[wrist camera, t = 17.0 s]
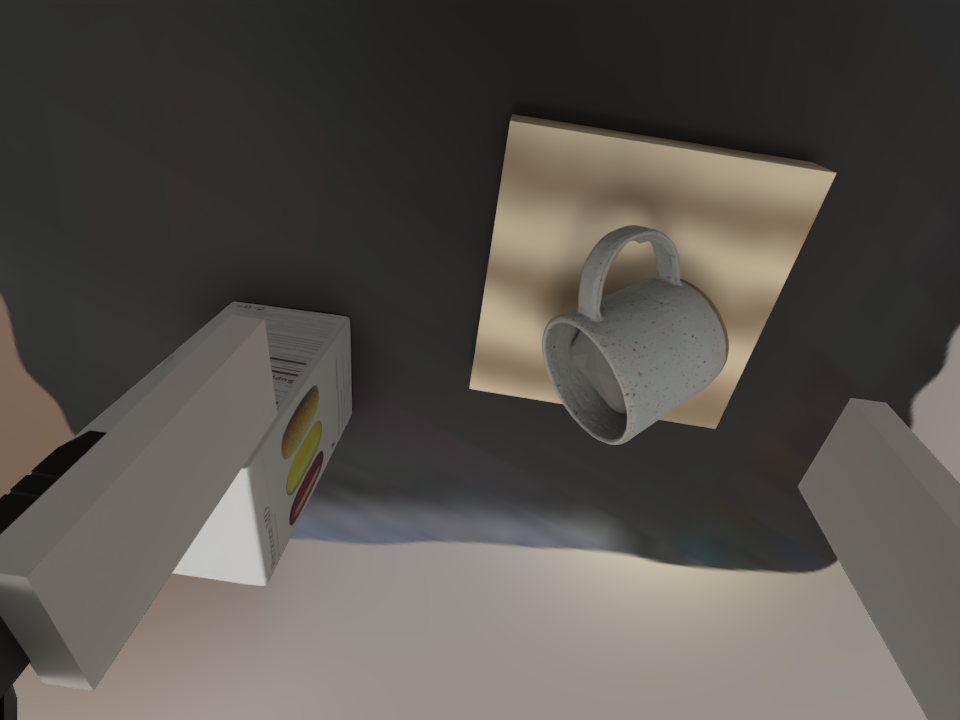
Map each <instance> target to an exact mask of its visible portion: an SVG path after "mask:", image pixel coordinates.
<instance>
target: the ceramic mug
mask: <svg viewBox="0 0 960 720" xmlns="http://www.w3.org/2000/svg"><path fill="white" fill-rule="evenodd" d="M630 241H636V242H638V243H639V244H641V243H644V242H647V241H649V242H650V243H651V244H652V246H653V249H654V253H655V254H656V262H657V277H656V278H652V279H646V280H642V281H640V282H637V283H634V284H632V285H630V286H628V287H626V288H624V289H621V290H619V291H617V292H615V293H612V294H609V295H606V296H604V297H602V293H603V287H604V283H605V279H606V276H607V273H608V271H609V268H610V266H611V264H612V262H613V261H614V259H615V258H616V256H617V254H618V253H619V252H620V251H621V250H622V248H623V247H624V246H625V245H626V244H627V243H628V242H630ZM542 352H543V359H544V363H545V366H546V370H547V373H548V376H549V378H550V381H551V384H552V386H553V388H554V390H555V391H556V393H557V395H558V396H559V398H560V401H561V402H562V403H563V405H564V406H565V407H566V409H567V410H568V412H569V413H570V414H571V416H572V417H573V418H574V419H575V420H576V421H577V422H578V423H579V424H580V426H581V427H582V428H584V429H585V430H586V431H587V432H588V433H589V434H590V435H591V436H593V437H594V438H596V439H598V440H600V441H602V442H605V443H608V444H612V445H619V444H622V443H625V442H627V441H628V440H630V439H631V438H633V437H634V436H636V435H637V434H638V433H640V432H641V431H643V430H644V429H646V428H647V427H649V426H650V425H652V424H653V423H655V422H656V421H657V420H659V419H660V418H662V417H663V416H665V415H666V414H668V413H669V412H671V411H672V410H673V409H675V408H676V407H678V406H679V405H681V404H683V403H684V402H686V401H687V400H689V399H691V398H692V397H694V396H695V395H696V394H698V393H699V392H701V391H702V390H704V389H705V388H706V387H707V386H708V385H709V384H710V383H711V382H712V381H713V380H714V379H715V378H716V377H717V376H718V375H719V373H720V372H721V371H722V369H723V367H724V365H725V363H726V361H727V357H728V352H729V339H728V334H727V330H726V327H725V324H724V321H723V319H722V317H721V315H720V313H719V311H718V309H717V308H716V306H715V305H714V303H713V302H712V301H711V300H710V299H709V298H708V297H707V295H706V294H705V293H704V292H702V291H701V290H700V289H698V288H697V287H696V286H694V285H693V284H691V283H689V282H687V281H686V280H683V279H680V263H679V255H678V252H677V250H676V247H675V244H674V243H673V241H672V240H671V239H670V238H669V237H667V236H666V235H665V234H664V233H662V232H660V231H658V230H655V229H651V228H647V227H643V226H638V225H630V226H625V227H621V228H619V229H616V230H614V231H611V232H609V233H608V234H607V235H605V236H604V237H603V238H602V239H600V240H599V241H598V243H597V244H596V245H595V246H594V248H593V249H592V251H591V252H590V254H589V256H588V257H587V259H586V262H585V264H584V266H583V269H582V273H581V277H580V285H579V293H578V307H577V308H574V309H572V310H569V311H567V312H565V313H562V314H560V315H558V316H556V317H554V318H553V319H551V320H550V321H549V323H548V324H547V326H546V327H545V330H544V333H543V338H542Z"/></svg>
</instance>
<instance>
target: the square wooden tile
mask: <svg viewBox="0 0 960 720" xmlns="http://www.w3.org/2000/svg"><path fill="white" fill-rule="evenodd" d="M835 175H836V173H835V172H833V171H831V170H828V169H826V168H824V167H822V166H819V165H817V164H815V163H813V162H808V161H802V160H795V159H789V158H783V157H777V156H770V155H764V154H758V153H752V152H745V151H739V150H733V149H727V148H720V147H714V146H708V145H702V144H695V143H689V142H683V141H677V140H671V139H664V138H658V137H652V136H646V135H639V134H633V133H627V132H621V131H614V130H608V129H602V128H596V127H589V126H583V125H577V124H571V123H565V122H558V121H552V120H546V119H540V118H533V117H527V116H521V115H515V114H512V116H511V120H510V125H509V132H508V138H507V145H506V151H505V158H504V165H503V171H502V178H501V184H500V191H499V197H498V204H497V211H496V217H495V224H494V230H493V237H492V243H491V250H490V256H489V263H488V270H487V276H486V283H485V289H484V296H483V302H482V309H481V316H480V322H479V329H478V335H477V342H476V348H475V355H474V362H473V368H472V375H471V381H470V388H469V389H474V390H480V391H486V392H492V393H498V394H505V395H511V396H517V397H523V398H529V399H535V400H541V401H547V402H554V403H560V404H563V403H562V402H561V401H560V398H559V396H558V395H557V393H556V391H555V390H554V388H553V386H552V384H551V381H550V378H549V376H548V373H547V370H546V366H545V363H544V359H543V352H542V338H543V333H544V330H545V327H546V326H547V324H548V323H549V321H550V320H551V319H553V318H554V317H556V316H558V315H560V314H562V313H565V312H567V311H569V310H572V309H574V308H577V307H578V293H579V285H580V277H581V273H582V269H583V266H584V264H585V262H586V259H587V257H588V256H589V254H590V252H591V251H592V249H593V248H594V246H595V245H596V244H597V243H598V241H599V240H600V239H602V238H603V237H604V236H605V235H607V234H608V233H609V232H611V231H614V230H616V229H619V228H621V227H625V226H630V225H638V226H643V227H647V228H651V229H655V230H658V231H660V232H662V233H664V234H665V235H666V236H667V237H669V238H670V239H671V240H672V241H673V243H674V244H675V247H676V250H677V252H678V255H679V263H680V279H683V280H686V281H687V282H689V283H691V284H693V285H694V286H696V287H697V288H698V289H700V290H701V291H702V292H704V293H705V294H706V295H707V297H708V298H709V299H710V300H711V301H712V302H713V303H714V305H715V306H716V308H717V309H718V311H719V313H720V315H721V317H722V319H723V321H724V324H725V327H726V330H727V334H728V339H729V352H728V357H727V361H726V363H725V365H724V367H723V369H722V371H721V372H720V373H719V375H718V376H717V377H716V378H715V379H714V380H713V381H712V382H711V383H710V384H709V385H708V386H707V387H706V388H705V389H704V390H702V391H701V392H699V393H698V394H696V395H695V396H694V397H692V398H691V399H689V400H687V401H686V402H684V403H683V404H681V405H679V406H678V407H676V408H675V409H673V410H672V411H671V412H669V413H668V414H666V415H665V416H663V417H662V418H660V419H659V420H664V421H670V422H676V423H683V424H689V425H695V426H701V427H707V428H713V429H716V427H717V425H718V423H719V420H720V418H721V416H722V414H723V412H724V410H725V408H726V406H727V404H728V401H729V399H730V397H731V395H732V393H733V391H734V389H735V387H736V384H737V382H738V380H739V378H740V376H741V374H742V372H743V370H744V368H745V365H746V363H747V361H748V359H749V357H750V355H751V353H752V351H753V349H754V346H755V344H756V342H757V340H758V338H759V336H760V334H761V332H762V330H763V327H764V325H765V323H766V321H767V319H768V317H769V315H770V313H771V311H772V308H773V306H774V304H775V302H776V300H777V298H778V296H779V294H780V292H781V289H782V287H783V285H784V283H785V281H786V279H787V277H788V275H789V272H790V270H791V268H792V266H793V264H794V262H795V260H796V258H797V256H798V253H799V251H800V249H801V247H802V245H803V243H804V241H805V239H806V237H807V234H808V232H809V230H810V228H811V226H812V224H813V222H814V220H815V218H816V215H817V213H818V211H819V209H820V207H821V205H822V203H823V201H824V199H825V196H826V194H827V192H828V190H829V188H830V186H831V184H832V182H833V180H834V177H835ZM656 277H657V262H656V254H655V253H654V249H653V246H652V244H651V243H650V242H649V241H647V242H644V243H641V244H639V243H638V242H636V241H630V242H628V243H627V244H626V245H625V246H624V247H623V248H622V250H621V251H620V252H619V253H618V254H617V256H616V258H615V259H614V261H613V262H612V264H611V266H610V268H609V271H608V273H607V276H606V279H605V283H604V287H603V293H602V297H604V296H606V295H609V294H612V293H615V292H617V291H619V290H621V289H624V288H626V287H628V286H630V285H632V284H634V283H637V282H640V281H642V280H646V279H652V278H656Z"/></svg>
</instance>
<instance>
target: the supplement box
mask: <svg viewBox="0 0 960 720" xmlns="http://www.w3.org/2000/svg"><path fill="white" fill-rule="evenodd" d="M231 315H237V316H245V317H252V318H259V319H265V326H266V333H267V340H268V348H269V355H270V362H271V370H272V377H273V384H274V392H275V399H276V406H277V414H278V415H277V416H276V418H275V419H274V421H273V422H272V424H271V425H270V427H269V428H268V430H267V431H266V433H265V434H264V436H263V437H262V439H261V440H260V442H259V443H258V445H257V446H256V448H255V449H254V451H253V452H252V454H251V455H250V457H249V458H248V460H247V461H246V463H245V464H244V466H243V467H242V469H241V470H240V472H239V473H238V475H237V476H236V478H235V479H234V481H233V482H232V484H231V485H230V487H229V488H228V490H227V491H226V493H225V494H224V496H223V497H222V499H221V500H220V502H219V503H218V505H217V506H216V508H215V509H214V511H213V512H212V514H211V515H210V517H209V518H208V520H207V521H206V523H205V524H204V526H203V527H202V529H201V530H200V532H199V533H198V535H197V536H196V538H195V539H194V541H193V542H192V544H191V545H190V547H189V548H188V550H187V551H186V553H185V554H184V556H183V557H182V559H181V560H180V562H179V563H178V565H177V566H176V568H175V569H174V571H173V572H172V573H174V574H181V575H188V576H195V577H201V578H208V579H216V580H221V581H228V582H234V583H241V584H249V585H259V586H265V585H267V584H268V582H269V580H270V577H271V576H272V574H273V572H274V570H275V567H276V565H277V564H278V562H279V560H280V557H281V556H282V553H283V551H284V549H285V547H286V545H287V543H288V541H289V539H290V537H291V535H292V533H293V531H294V529H295V527H296V525H297V523H298V521H299V519H300V517H301V515H302V513H303V511H304V509H305V507H306V505H307V503H308V501H309V499H310V497H311V495H312V493H313V491H314V489H315V487H316V485H317V483H318V481H319V479H320V477H321V475H322V473H323V471H324V469H325V467H326V465H327V463H328V461H329V459H330V457H331V455H332V453H333V451H334V449H335V447H336V445H337V443H338V441H339V439H340V437H341V435H342V433H343V431H344V429H345V427H346V425H347V423H348V421H349V419H350V417H351V415H352V381H351V332H350V319H349V317H346V316H340V315H333V314H325V313H318V312H310V311H303V310H295V309H287V308H280V307H273V306H266V305H258V304H250V303H243V302H232V303H231V304H229V305H228V306H227V307H226V308H225V309H224V310H222V311H221V312H220V313H219V314H218V315H217V316H215V317H214V318H213V319H212V320H211V321H210V322H208V323H207V324H206V325H205V326H204V327H203V328H201V329H200V330H199V331H198V332H197V333H196V334H194V335H193V336H192V337H191V338H190V339H189V340H187V341H186V342H185V343H184V344H183V345H181V346H180V347H179V348H178V349H177V350H176V351H175V352H174V353H172V354H171V355H170V356H169V357H168V358H166V359H165V360H164V361H163V362H161V363H160V364H159V365H158V366H157V367H156V368H155V369H153V370H152V371H151V372H150V373H149V374H148V375H146V376H145V377H144V378H143V379H142V380H141V381H139V382H138V383H137V384H136V385H135V386H134V387H132V388H131V389H130V390H129V391H128V392H127V393H125V394H124V395H123V396H122V397H121V398H119V399H118V400H117V401H116V402H115V403H114V404H112V405H111V406H110V407H109V408H108V409H106V410H105V411H104V412H103V413H102V414H100V415H99V416H98V417H97V418H96V419H95V420H93V421H92V422H91V423H90V424H89V425H87V426H86V427H85V428H84V429H83V430H82V431H81V432H79V433H78V434H77V435H76V436H75V437H74V438H72V439H71V440H73V439H75V438H77V437H79V436H80V435H82V434H84V433H86V432H88V431H90V430H92V431H99V432H106V433H108V432H109V431H110V430H111V429H112V428H113V427H114V426H115V425H116V424H117V423H118V422H119V421H120V420H121V419H122V418H123V417H124V416H125V415H127V414H128V413H129V412H130V411H131V410H132V409H133V408H134V407H135V406H136V405H137V404H138V403H139V402H140V401H141V400H142V399H143V398H144V397H145V396H146V395H148V394H149V393H150V392H151V391H152V390H153V389H154V388H155V387H156V386H157V385H158V384H159V383H160V382H161V381H162V380H163V379H164V378H165V377H166V376H168V375H169V374H170V373H171V372H172V371H173V370H174V369H175V368H176V367H177V366H178V365H179V364H180V363H181V362H182V361H183V360H184V359H185V358H186V357H187V356H189V355H190V354H191V353H192V352H193V351H194V350H195V349H196V348H197V347H198V346H199V345H200V344H201V343H202V342H203V341H204V340H205V339H206V338H207V337H208V336H210V335H211V334H212V333H213V332H214V331H215V330H216V329H217V328H218V327H219V326H220V325H221V324H222V323H223V322H224V321H225V320H226V319H227V318H228V317H229V316H231ZM71 440H70V441H71Z"/></svg>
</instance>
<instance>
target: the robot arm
mask: <svg viewBox="0 0 960 720" xmlns="http://www.w3.org/2000/svg"><path fill="white" fill-rule="evenodd" d="M277 415H278V414H277V406H276V399H275V392H274V384H273V377H272V370H271V362H270V355H269V348H268V340H267V333H266V326H265V319H259V318H252V317H245V316H237V315H231V316H229V317H228V318H227V319H226V320H225V321H224V322H223V323H222V324H221V325H220V326H219V327H218V328H217V329H216V330H215V331H214V332H213V333H212V334H211V335H210V336H208V337H207V338H206V339H205V340H204V341H203V342H202V343H201V344H200V345H199V346H198V347H197V348H196V349H195V350H194V351H193V352H192V353H191V354H190V355H189V356H187V357H186V358H185V359H184V360H183V361H182V362H181V363H180V364H179V365H178V366H177V367H176V368H175V369H174V370H173V371H172V372H171V373H170V374H169V375H168V376H166V377H165V378H164V379H163V380H162V381H161V382H160V383H159V384H158V385H157V386H156V387H155V388H154V389H153V390H152V391H151V392H150V393H149V394H148V395H146V396H145V397H144V398H143V399H142V400H141V401H140V402H139V403H138V404H137V405H136V406H135V407H134V408H133V409H132V410H131V411H130V412H129V413H128V414H127V415H125V416H124V417H123V418H122V419H121V420H120V421H119V422H118V423H117V424H116V425H115V426H114V427H113V428H112V429H111V430H110V431H109V432H108V433H106V432H99V431H92V430H90V431H88V432H86V433H84V434H82V435H80V436H79V437H77V438H75V439H73V440H71V441H69V442H67V443H66V444H64V445H62V446H60V447H58V448H57V449H56V450H54V451H53V452H52V453H51V454H50V455H49V456H48V457H47V458H45V459H44V460H43V461H42V462H41V463H40V464H39V465H38V466H36V467H35V468H34V469H33V470H32V474H31V475H26V476H25V477H24V478H23V479H22V480H21V481H19V482H18V483H17V484H16V485H15V486H14V487H13V488H11V492H10V494H8V495H7V494H5V495H4V496H2V497H1V498H0V720H17V697H16V694H15V690H14V687H13V685H12V684H13V683H14V682H15V681H16V679H17V678H18V677H19V676H20V674H21V673H22V672H23V670H24V669H25V668H26V667H27V665H28V664H29V663H30V664H31V666H32V667H33V669H34V670H35V672H36V673H37V675H38V676H39V677H40V679H41V680H42V682H43V683H44V684H51V685H57V686H63V687H70V688H76V689H83V690H89V691H94V690H95V688H96V687H97V685H98V684H99V682H100V681H101V679H102V678H103V676H104V675H105V673H106V672H107V670H108V669H109V667H110V666H111V664H112V662H113V661H114V659H115V658H116V657H117V655H118V653H119V652H120V651H121V649H122V647H123V646H124V645H125V643H126V642H127V640H128V639H129V637H130V636H131V634H132V633H133V631H134V630H135V628H136V627H137V625H138V624H139V622H140V620H141V619H142V618H143V616H144V615H145V613H146V611H147V610H148V609H149V607H150V606H151V604H152V602H153V601H154V599H155V598H156V596H157V595H158V593H159V592H160V590H161V589H162V587H163V586H164V584H165V583H166V581H167V580H168V578H169V577H170V575H171V574H172V572H173V571H174V569H175V568H176V566H177V565H178V563H179V562H180V560H181V559H182V557H183V556H184V554H185V553H186V551H187V550H188V548H189V547H190V545H191V544H192V542H193V541H194V539H195V538H196V536H197V535H198V533H199V532H200V530H201V529H202V527H203V526H204V524H205V523H206V521H207V520H208V518H209V517H210V515H211V514H212V512H213V511H214V509H215V508H216V506H217V505H218V503H219V502H220V500H221V499H222V497H223V496H224V494H225V493H226V491H227V490H228V488H229V487H230V485H231V484H232V482H233V481H234V479H235V478H236V476H237V475H238V473H239V472H240V470H241V469H242V467H243V466H244V464H245V463H246V461H247V460H248V458H249V457H250V455H251V454H252V452H253V451H254V449H255V448H256V446H257V445H258V443H259V442H260V440H261V439H262V437H263V436H264V434H265V433H266V431H267V430H268V428H269V427H270V425H271V424H272V422H273V421H274V419H275V418H276V416H277ZM798 488H799V490H800V492H801V493H802V495H803V497H804V499H805V501H806V502H807V504H808V506H809V508H810V510H811V511H812V513H813V515H814V517H815V519H816V520H817V522H818V524H819V526H820V528H821V529H822V531H823V533H824V535H825V536H826V538H827V540H828V542H829V544H830V545H831V547H832V549H833V551H834V553H835V554H836V556H837V558H838V560H839V562H840V563H841V565H842V567H843V569H844V571H845V572H846V574H847V576H848V578H849V579H850V581H851V583H852V585H853V587H854V588H855V590H856V592H857V594H858V596H859V597H860V599H861V601H862V603H863V604H864V606H865V608H866V610H867V612H868V613H869V615H870V617H871V619H872V621H873V623H874V624H875V626H876V628H877V630H878V631H879V633H880V635H881V637H882V638H883V640H884V642H885V644H886V646H887V648H888V649H889V651H890V653H891V655H892V656H893V658H894V660H895V662H896V664H897V666H898V667H899V669H900V671H901V672H902V674H903V676H904V678H905V680H906V682H907V683H908V685H909V687H910V689H911V690H912V692H913V694H914V696H915V698H916V699H917V701H918V703H919V705H920V706H921V708H922V710H923V712H924V714H925V716H926V717H927V719H928V720H960V483H959V482H958V481H957V480H956V479H955V478H954V477H953V476H952V475H951V473H950V472H949V471H948V470H947V469H946V468H945V467H944V466H943V465H942V464H941V463H940V462H939V460H938V459H937V458H936V457H935V456H934V455H933V454H932V453H931V452H930V450H928V448H927V447H926V446H925V445H924V444H923V443H922V442H921V441H920V440H919V439H918V437H917V436H916V435H915V434H914V433H913V432H912V431H911V430H910V429H909V427H908V426H907V425H906V424H905V423H904V422H903V421H902V420H901V419H900V418H899V417H898V415H897V414H896V413H895V412H894V411H893V410H892V409H891V408H890V407H889V406H888V404H887V403H884V402H876V401H869V400H861V399H854V398H851V399H850V400H849V402H848V404H847V405H846V407H845V409H844V410H843V412H842V414H841V415H840V417H839V419H838V420H837V422H836V424H835V425H834V427H833V429H832V430H831V432H830V434H829V435H828V437H827V439H826V440H825V442H824V444H823V445H822V447H821V449H820V450H819V452H818V454H817V455H816V457H815V459H814V460H813V462H812V464H811V465H810V467H809V469H808V470H807V472H806V474H805V475H804V477H803V479H802V480H801V482H800V484H799V485H798Z"/></svg>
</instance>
